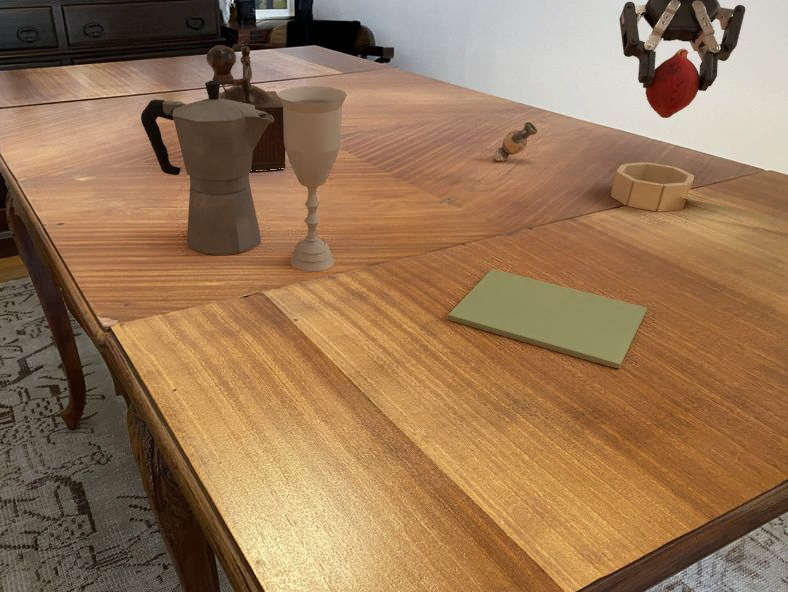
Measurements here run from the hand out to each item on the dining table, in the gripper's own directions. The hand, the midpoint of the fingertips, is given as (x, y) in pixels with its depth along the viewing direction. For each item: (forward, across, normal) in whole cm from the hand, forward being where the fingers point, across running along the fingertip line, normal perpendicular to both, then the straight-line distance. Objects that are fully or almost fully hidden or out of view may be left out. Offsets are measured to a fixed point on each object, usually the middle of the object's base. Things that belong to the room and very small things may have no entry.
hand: (676, 85), depth 84 cm
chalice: (+29, -39, -6) cm, 49 cm away
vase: (-2, -16, +24) cm, 29 cm away
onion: (+2, 0, +4) cm, 5 cm away
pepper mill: (+7, -56, +15) cm, 58 cm away
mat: (+33, -14, -11) cm, 38 cm away
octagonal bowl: (+7, +2, +15) cm, 17 cm away
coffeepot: (+26, -52, -4) cm, 58 cm away
